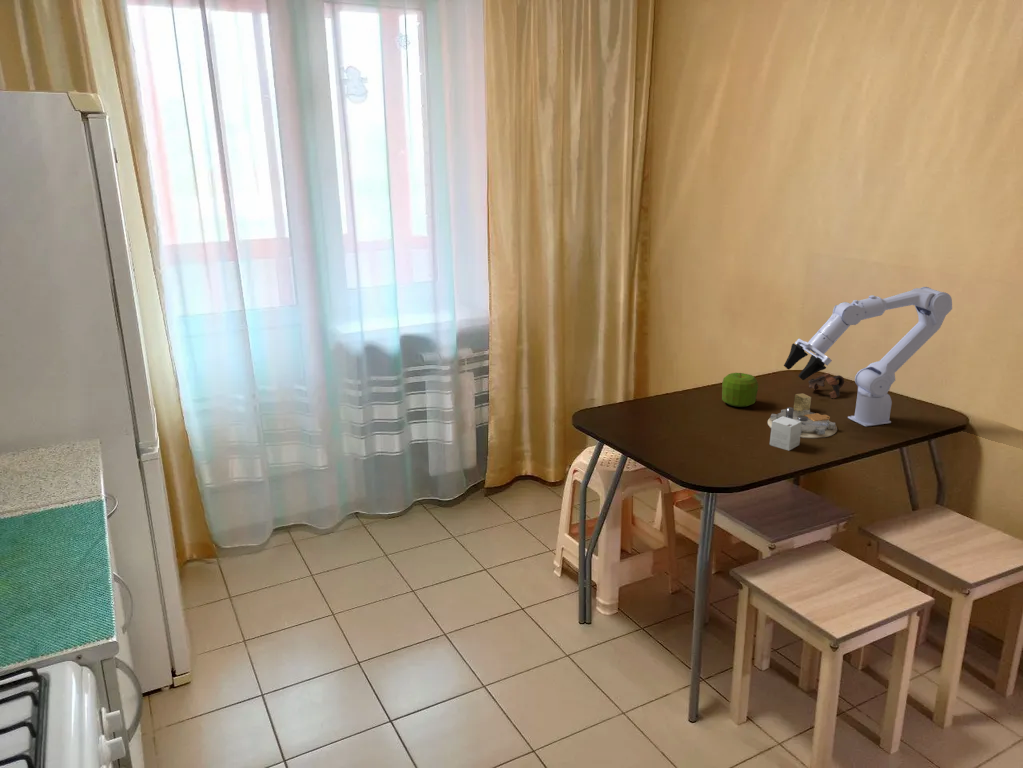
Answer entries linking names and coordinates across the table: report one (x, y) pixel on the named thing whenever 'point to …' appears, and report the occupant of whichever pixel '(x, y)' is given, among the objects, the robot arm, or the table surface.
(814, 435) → the base plate
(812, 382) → the brown irregular piece
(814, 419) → the sprocket
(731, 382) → the apple
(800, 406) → the wooden block
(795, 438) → the skincare box
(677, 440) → the table surface
